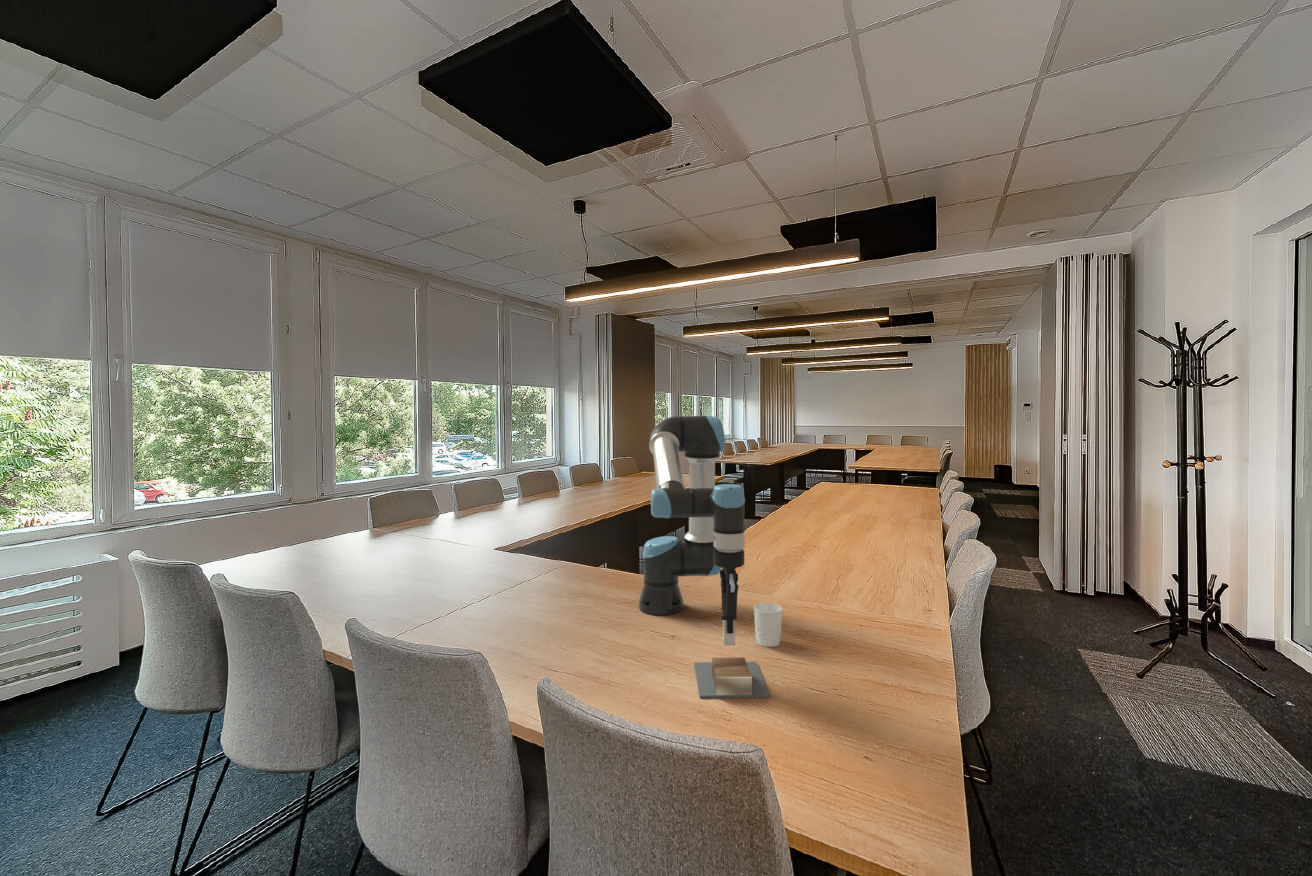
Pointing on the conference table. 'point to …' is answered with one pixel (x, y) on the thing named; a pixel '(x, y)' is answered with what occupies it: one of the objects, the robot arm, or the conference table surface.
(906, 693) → the conference table surface
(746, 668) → the walnut slab
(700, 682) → the rubber mat
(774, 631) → the white cup
